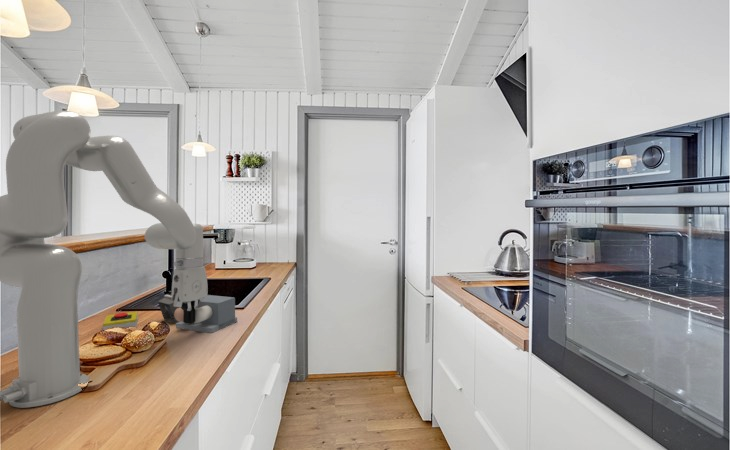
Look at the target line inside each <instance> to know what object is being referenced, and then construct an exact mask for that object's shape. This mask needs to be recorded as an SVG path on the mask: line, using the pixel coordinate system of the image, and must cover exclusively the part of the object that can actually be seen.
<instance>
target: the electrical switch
mask: <svg viewBox="0 0 730 450" xmlns="http://www.w3.org/2000/svg"><path fill="white" fill-rule="evenodd" d="M157 303H158V307H159V309H160V311H161V315H162V317H163V320H164V321H165V322H168V323H172V324H175V325H176V323H178V322H179V321H177V320H176V319H175V316H174V312H175V310H176V309H177V308H180V307H174V306H173V305H174V301H173V300H172V294H171V295H170V294H164V296H163V298H161V299H160V300H158V301H157Z"/></svg>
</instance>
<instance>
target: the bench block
mask: <svg viewBox="0 0 730 450" xmlns="http://www.w3.org/2000/svg"><path fill="white" fill-rule="evenodd" d="M206 305H207V306H210V307H211V309H212V311H213V315H212V317H211V318H209V319H207V320H204V321H201V322H199V323H191V324H190V323H184V322H183V321H182V322H178V323H176V324H175V329H181V330H188V331H196V332H202V333H208V334H209V333H210V334H213V333H215V332H217V331H220V330H221V329H224V328H226V326H227V327H228V326H230V325H233V324H235V322H236V323H238V316H237V317H236V298H235V297H234V296H233V297H232V296H221V295H213V294H212V295H211V294H207V296H206V297H205V298H204V300H202V301H201V302H199V304H198V306H197V308H200V307H203V306H206Z"/></svg>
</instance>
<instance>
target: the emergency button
mask: <svg viewBox="0 0 730 450" xmlns="http://www.w3.org/2000/svg"><path fill="white" fill-rule="evenodd" d="M137 322H138V323H139V316H138V311H131V312H120V313H114V314H108V315H107V314H106V316H105V318H104V320H103V324H102V331H103V330H105V329H108V328H112V327H125V328H129V327H136V326H137V327H138V324H137Z"/></svg>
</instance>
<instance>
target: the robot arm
mask: <svg viewBox="0 0 730 450" xmlns="http://www.w3.org/2000/svg"><path fill="white" fill-rule="evenodd" d="M12 135H13V138H14V140H13V142H12V143H11V145H10V146H9V149H8V152H7V154H6V159H5V175H6V189H7V193H6V194H3V195H1V196H0V282H1V283H2V284H5V285H7V286H9V287H10V286H11V287H15V288H21V291H20V295H19V298H18V302H17V306H16V326H17V327H16V328H17V329H16V331H17V353H18V354H17V356H18V359H17V362H18V377H17V378H14V379H13V380H12V384H10V385H8V386H7V387H6V388H5V389H2V390H0V402H2V401H3V403H5V404H6V403H9V405H10V406H11V407H14V408H19V409H20V408H21V409H26V408H34V407H41V406H46V405H49V404H54V403H56V402H60V401H62V400H66V399H68V398H71V397H73V396H75V395H77V394H78V393H80V392H81V391H83V390H82V389H81V386H78V384H81V383H83V384H85V383H87V382H88V381H89V382H90V377H89V375H87V374H85V373H81V370H80V367H81V366H80V364H81V363H80V341H79V340H80V337H79V335H80V333H79V310H78V309H79V307H78V306H79V304H78V303H79V299H78V298H79V289H80V283H81V277H82V271H83V269H82V268H83V266H82V261H81V259H80V257H79V256H78V254H77V253H76V252H74V251H73V250H72V249H70V248H69V247H66V246H63V245H59V244H50V243H45V239H48V238H52V237H56V236H58V235H60V234H62V232H64V230H65V229H66V228H67V226H68V223H69V222H68V221H69V215H68V207H67V198H66V191H65V184H64V183H65V182H64V169H65V166H66V165H67V166H69V167H73V168H77V169H79V170H80V169H81V170H85V171H89V172H101V171H102V172H103V174H104V175H105V177H106V178H107V179H108V181H109V183H111V185H112V187H113V188H114V189H115V191H116V192H117V194H118V195H119V197H120V199H121V200H122V201H123V202H124V203H125V204H126V205H129V206H132V207H133V208H135V209H137V210H140V211H142V212H144V213H146V214H149V215H150V216H152V217H154V218H155V219H156V220H158V221H159V222H160V223H159V222H158V223H154V224H152V225H151V226H149V227H147V229H146V230H145V233H144V241H145V242H146V243H147V245H149V247H150V246H151V247H152V248H154V249H159V250H161V249H162V250H175V261H174V262H173V266H174V267H175V269H173V275H172V282H171V296H172V300H173V301H174V305H173V306H174V307H180V308H181V309H182V310H183V322H184V323H190V324H191V323H194V322H195V309H197V306H198V304H199V302H201V301H202V300H204V298H205V297H206V296H207V295H209V294H208V291H209V290H208V289H209V288H208V285H209V284H208V276H207V271H206V270H207V269H206V267H205V266H204V259H203V258H204V227H203V225H201V224H200V223H193V222H192V220H191V219H190V217H189V215H188V213H187V212H186V211H185V209H184V208H183V207H182V206H181V205H180V204H179V203H178V202H177V201H175V200H174V199H173V198H172V197H171V196H170V195H168V194H167V193H166V192H164V191H162V189H160V188H159V187H158V186H157V185H156V184H155V182H154V181H153V178H152V177H151V175H150V174H149V172H148V171H147V169H146V167H145V165H144V164H143V162H142V161H141V159H140V157H139V156H138V153H137V152H136V151H135V149H134V147H133V146H132V145H131V142H129V141H128V140H127V139H126V138H124V137H121V136H118V135H99V136H93V137H92V136H91V126H90V124H89V122H88V121H87V119H86V118H85V117H83V116H82V115H81V114H79V113H77V112H73V111H71V110H55V111H49V112H48V111H47V112H44V113H37V114H31V115H28V116H23V117H22V118H20V119H19V120H18V121H16V122H15V124H14V125H13V128H12Z"/></svg>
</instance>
